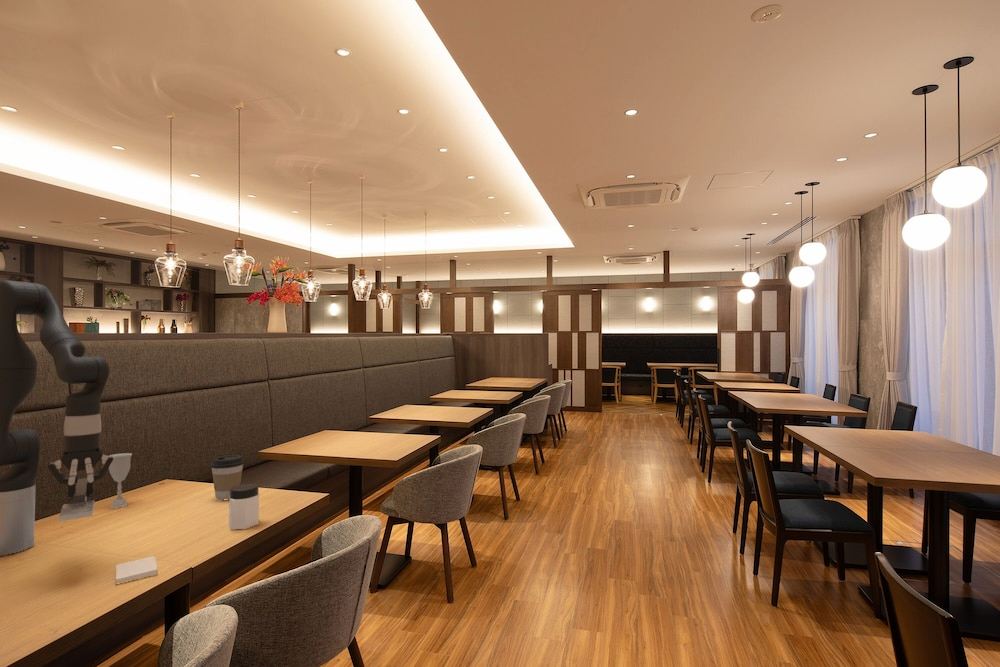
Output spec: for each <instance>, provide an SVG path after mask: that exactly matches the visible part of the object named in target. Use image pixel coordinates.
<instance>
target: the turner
mask: <svg viewBox="0 0 1000 667" xmlns="http://www.w3.org/2000/svg"><path fill="white" fill-rule="evenodd" d="M87 482H88V478H87V477H85V478H78V479H77V481H76V488H75V491H74V494H73V499H72V502H70V503H65V504H62V507H61V510H60V513H59V516H58V522H63V521H69V520H70V521H71V520H76V519H81V518H82V519H83V518H88V517H92V516H93V514H94V507H95V499H93V500H91V499H90V500H87V498H88V497H87Z"/></svg>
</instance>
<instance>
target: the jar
mask: <svg viewBox="0 0 1000 667" xmlns="http://www.w3.org/2000/svg"><path fill="white" fill-rule="evenodd" d="M228 501H229V502H228V503H229V504H228V527H229V529H230V530H231V531H237V530H236V529H242V530H248V529H251V528H253V527H255V525H256V526H259V524H260V507H259V506H260V494H259V484H256V483H242V484H240V485H237V486H234V487H232V488H230V496H229V500H228ZM252 526H253V527H252ZM250 527H251V528H250ZM247 528H248V529H247Z"/></svg>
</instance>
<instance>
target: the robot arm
mask: <svg viewBox="0 0 1000 667" xmlns="http://www.w3.org/2000/svg"><path fill="white" fill-rule="evenodd" d="M18 315H22V316H23V315H26V316H38V318H39V319H41V320H42V321H43V323H42V326H41V328H40V331H39V339H40V342H41V344H42V346H43V347H44V348H45V350H46V351H47V352H48V353H49V355H50V356H51V357H52V358H53V362H54V363H53V364H54V366H55V372H56V375H57V377H58V379H59V380H60V381H61V382H63V383H66V384H69V385H70V384H71V385H77V384H78V385H79V384H85V385H84V386H83V387H82V389H81V390H79V391H77V392H72V393H70V394H68V395H67V396H66V398H65V418H64V422H63V438H62V439H63V445H62V446H63V447H62V455H61V456H60V459H58V460H56V461H53V462H50V463H48V466H47V468H48V470H49V471H50V472H51V474H52V476H53V477H54V478H55V480H56V481H57V482H58V484H59V485H67V496H68V498H71V500H73V494H74V491H75V488H76V484H77V482H76V480H77V479H76V478H77V474H78V473H77V472H79V471H86V476H87V477H86V478H88V482H87V498H90V496H91V495H93V493H94V491H95V481H98V480H101V479H103V478H104V475H105V474H106V473H107V471H108V470H109V466H110V464H111V463H112V461H113V456H110V455H106V454H104V452H103V450H102V448H101V447H102V446H101V444H102V442H101V441H102V427H103V426H102V419H101V400H102V396H103V393H104V390H105V386H106V384H107V382H108V379H109V376H110V370H111V369H110V364H109V363H108V361H107V360H106V359H105V358H103V357H101V356H84V355H85V354H86V347H85V345H84V343H83V342H82V341H81V340H80V339H79V337H78V336H77V335H76V333H74V331H72V329H71V327H70V326H69V324H68V323H67V321H66V319H65V317H64V315H63V313H62V311H61V308H60V307H59V305H58V302H57V300H56V299H55V297H54V295H53V293H52V291H51V290H50V289H49V288H48V287H47V286H46V285H44V284H40V283H37V282H28V281H18V280H11V279H10V280H9V279H7V280H6V279H5V280H0V467H1V466H3V467H4V466H8V465H11V466H10V467H9V468H8V470H6V471H4V473H2V474H0V557H3V556H8V554H9V555H12V553H14V554H17V553H20V551H21V552H23V550H24V551H27V550H29V549H31V548H32V547H33V546H34V545H35V524H36V523H35V520H36V519H35V518H36V515H35V514H36V513H35V512H36V480H37V477H38V474H39V466H40V456H41V439H40V435H39V434H38V433H37V431H36V430H35V429H32V428H23V429H22V428H21V429H16V430H10V426H11V421H12V419H13V416H14V415H15V413H16V411H17V410H18V408H19V407H20V406H21V404H22V403H23V402H24V401H25V400H26V398H28V396H29V395H30V394H31V392H32V391H33V389H34V388H35V386H36V383H37V376H38V360H37V358H36V356H35V354H34V353H33V351H32V349H31V348H30V347H29V346H28V344H27V343H26V342H25V340H24V339H23V337H22V335H21V334H20V332H19V328H18V321H17V319H18V318H17V316H18ZM100 460H102V461H101V463H102V466H101V468H100V470H99V472H98V473H96V474H95V472H94V470H95V469H94V467H95V466H96V465H97V464H98V462H100ZM62 464H63V465H64V466H65V467H66V468H67V469H68V470H69V476H68V477H66V476H65V475H64V474H63V472H62V470H61V468H62ZM30 547H31V548H30ZM28 548H29V549H28ZM16 552H17V553H16ZM2 555H3V556H2Z"/></svg>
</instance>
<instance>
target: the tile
mask: <svg viewBox="0 0 1000 667" xmlns="http://www.w3.org/2000/svg"><path fill="white" fill-rule="evenodd" d="M157 565H158V564H157V559H156V555H153V556H149V557H144V558H140V559H136V560H131V561H125V562H122V563H119V564H118V563H117V564H116V565H115V585H116V584H117V583H122V582H126V581H130V580H135V579H139V578H143V579H145V578H144V577H147V578H149V577H148V576H151V577H155V576H158V566H157ZM154 575H155V576H154ZM139 580H140V579H139ZM135 581H136V580H135Z"/></svg>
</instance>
